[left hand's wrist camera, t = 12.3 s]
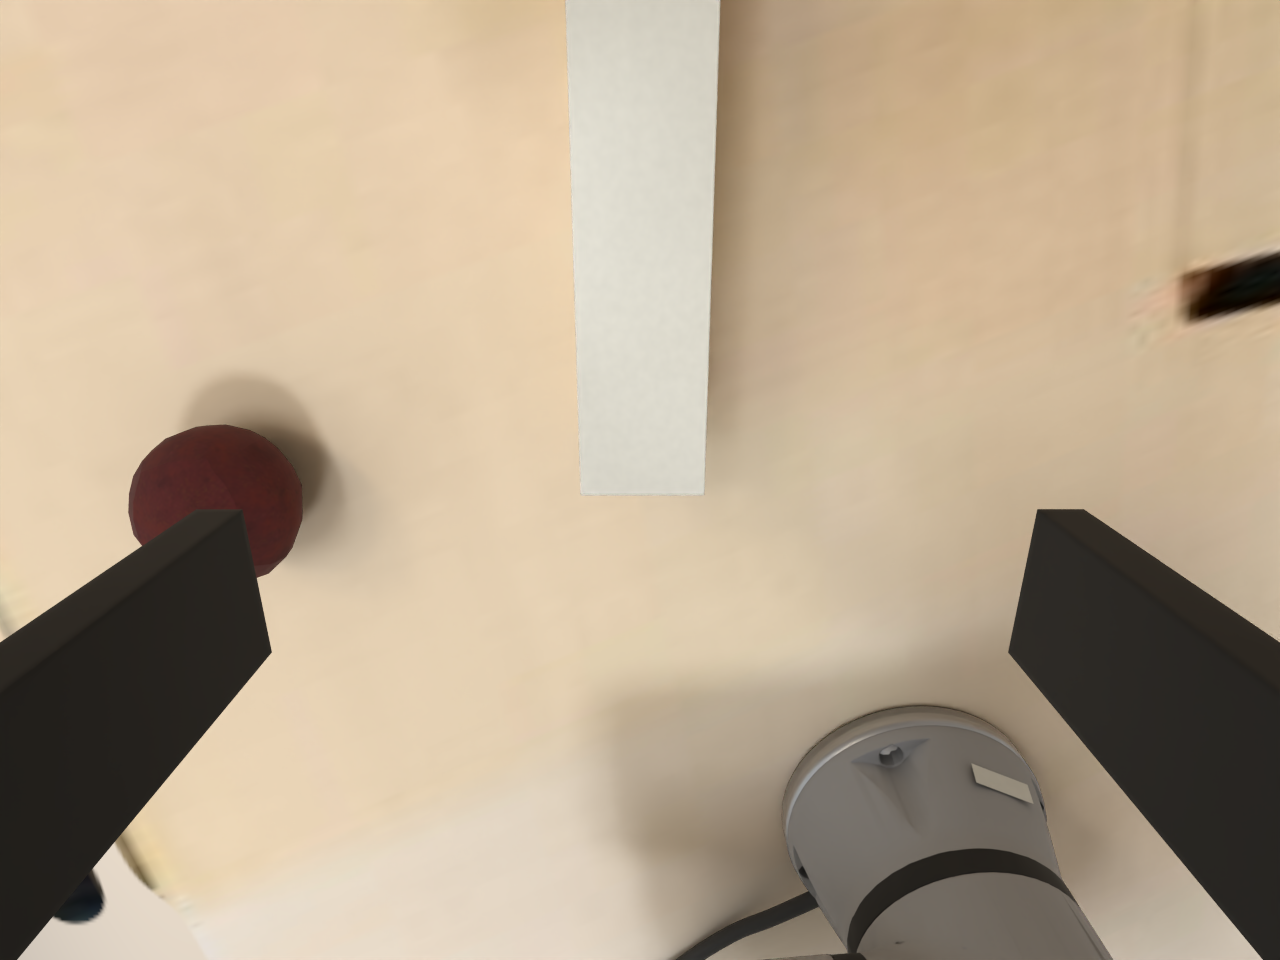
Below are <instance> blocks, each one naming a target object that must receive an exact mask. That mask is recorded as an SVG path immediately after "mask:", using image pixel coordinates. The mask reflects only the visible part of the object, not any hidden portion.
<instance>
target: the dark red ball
mask: <svg viewBox="0 0 1280 960" xmlns="http://www.w3.org/2000/svg"><path fill="white" fill-rule="evenodd" d="M196 509H243V514H244V519H245V524H246V529H247V534H248V539H249V543H250V548H251V553H252V558H253V563H254V568H255V573H256V578H257V577H260V576H263V575H266V574H269V573H270V572H271V571H272V570H273V569H274V568H275V567H276V566H277V565H278V564H279V563H280V562H281V561H282V560H283V559H284V558H285V557H286V556H287V555H288V553H289V552H290V550H291V549H292V547H293V544H294V542H295V539H296V536H297V533H298V530H299V527H300V524H301V522H302V514H303V510H302V485H301V483H300V480H299V478H298V476H297V474H296V472H295V470H294V468H293V466H292V465H291V463H290V462H289V461H288V460H287V459H286V458H285V456H284V455H283V454H282V453H281V452H280V450H279V449H278V448H277V447H276V446H274V445H273V444H272V443H271V442H269V441H268V440H267V439H266V438H264V437H262V436H260V435H258V434H256V433H255V432H253V431H251V430H247V429H243V428H238V427H234V426H230V425H210V426H200V427H195V428H192V429H189V430H187V431H184V432H181V433H179V434H176V435H174V436H171V437H169V438H166V439H165V440H164V441H162V442H161V443H160V444H159V445H158V446H156V447H155V448H154V449H153V450H152V451H151V452H150V453H149V454H148V455H147V456H146V457H145V459H144V460H143V461H142V462H141V464H140V466H139V467H138V469H137V471H136V472H135V474H134V476H133V480H132V484H131V488H130V492H129V511H128V513H129V517H130V521H131V526H132V530H133V534H134V536H135V537H136V538H137V540H138V541H139V542H140V544H141V545H142V546H143V545H144V544H146V543H147V542H149V541H150V540H152V539H153V538H155V537H156V536H158V535H159V534H161V533H162V532H164V531H165V530H167V529H168V528H170V527H171V526H172V525H174V524H175V523H177V522H178V521H180V520H181V519H183V518H184V517H186V516H187V515H189V514H190V513H192V512H193V511H195V510H196Z"/></svg>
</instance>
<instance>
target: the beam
mask: <svg viewBox="0 0 1280 960" xmlns="http://www.w3.org/2000/svg"><path fill="white" fill-rule="evenodd" d="M565 6H566V38H567V71H568V103H569V136H570V168H571V201H572V234H573V266H574V299H575V331H576V364H577V396H578V429H579V462H580V494H581V495H704V494H705V465H706V434H707V403H708V372H709V341H710V310H711V279H712V248H713V217H714V186H715V155H716V124H717V93H718V62H719V31H720V0H565Z"/></svg>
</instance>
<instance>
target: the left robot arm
mask: <svg viewBox="0 0 1280 960" xmlns="http://www.w3.org/2000/svg"><path fill="white" fill-rule="evenodd" d="M271 653H272V651H271V646H270V641H269V636H268V632H267V627H266V622H265V617H264V612H263V607H262V602H261V597H260V592H259V587H258V583H257V578H256V573H255V568H254V563H253V558H252V553H251V548H250V543H249V539H248V534H247V529H246V524H245V519H244V514H243V509H196V510H195V511H193V512H192V513H190V514H189V515H187V516H186V517H184V518H183V519H181V520H180V521H178V522H177V523H175V524H174V525H172V526H171V527H170V528H168V529H167V530H165V531H164V532H162V533H161V534H159V535H158V536H156V537H155V538H153V539H152V540H150V541H149V542H147V543H146V544H144V545H143V546H142V547H140V548H139V549H137V550H136V551H134V552H133V553H131V554H130V555H128V556H127V557H125V558H124V559H122V560H121V561H119V562H118V563H117V564H115V565H114V566H112V567H111V568H109V569H108V570H106V571H105V572H103V573H102V574H100V575H99V576H97V577H96V578H94V579H93V580H91V581H90V582H89V583H87V584H86V585H84V586H83V587H81V588H80V589H78V590H77V591H75V592H74V593H72V594H71V595H69V596H68V597H66V598H65V599H64V600H62V601H61V602H59V603H58V604H56V605H55V606H53V607H52V608H50V609H49V610H47V611H46V612H44V613H43V614H41V615H40V616H38V617H37V618H36V619H34V620H33V621H31V622H30V623H28V624H27V625H25V626H24V627H22V628H21V629H19V630H18V631H16V632H15V633H13V634H12V635H11V636H9V637H8V638H6V639H5V640H3V641H2V642H0V960H17V959H18V958H19V957H20V955H21V954H22V953H23V952H24V951H25V949H26V948H27V947H28V946H29V944H30V943H31V942H32V941H33V940H34V939H35V937H36V936H37V935H38V934H39V932H40V931H41V930H42V929H43V928H44V926H45V925H46V924H47V923H48V922H49V920H50V919H51V918H52V917H53V916H54V914H55V913H56V912H57V911H58V910H59V908H60V907H61V906H62V905H63V904H64V902H65V901H66V900H67V899H68V898H69V896H70V895H71V894H72V893H73V891H74V890H75V889H76V888H77V887H78V885H79V884H80V883H81V882H82V881H83V879H84V878H85V877H86V876H87V875H88V873H89V872H90V871H91V870H92V869H93V867H94V866H95V865H96V864H97V863H98V861H99V860H100V859H101V858H102V856H103V855H104V854H105V853H106V852H107V850H108V849H109V848H110V847H111V846H112V844H113V843H114V842H115V841H116V840H117V838H118V837H119V836H120V835H121V834H122V832H123V831H124V830H125V829H126V828H127V826H128V825H129V824H130V823H131V822H132V820H133V819H134V818H135V817H136V815H137V814H138V813H139V812H140V811H141V809H142V808H143V807H144V806H145V805H146V803H147V802H148V801H149V800H150V799H151V797H152V796H153V795H154V794H155V793H156V791H157V790H158V789H159V788H160V787H161V785H162V784H163V783H164V782H165V780H166V779H167V778H168V777H169V776H170V774H171V773H172V772H173V771H174V770H175V768H176V767H177V766H178V765H179V764H180V762H181V761H182V760H183V759H184V758H185V756H186V755H187V754H188V753H189V752H190V750H191V749H192V748H193V747H194V745H195V744H196V743H197V742H198V741H199V739H200V738H201V737H202V736H203V735H204V733H205V732H206V731H207V730H208V729H209V727H210V726H211V725H212V724H213V723H214V721H215V720H216V719H217V718H218V717H219V715H220V714H221V713H222V712H223V710H224V709H225V708H226V707H227V706H228V704H229V703H230V702H231V701H232V700H233V698H234V697H235V696H236V695H237V694H238V692H239V691H240V690H241V689H242V688H243V686H244V685H245V684H246V683H247V682H248V680H249V679H250V678H251V677H252V676H253V674H254V673H255V672H256V671H257V669H258V668H259V667H260V666H261V665H262V663H263V662H264V661H265V660H266V659H267V657H268V656H269V655H270V654H271ZM1008 653H1009V654H1010V655H1011V656H1012V657H1013V659H1014V660H1015V661H1016V662H1017V663H1018V665H1019V666H1020V667H1021V668H1022V669H1023V671H1024V672H1025V673H1026V674H1027V676H1028V677H1029V678H1030V679H1031V680H1032V682H1033V683H1034V684H1035V685H1036V686H1037V688H1038V689H1039V690H1040V691H1041V692H1042V694H1043V695H1044V696H1045V697H1046V698H1047V700H1048V701H1049V702H1050V703H1051V704H1052V706H1053V707H1054V708H1055V709H1056V710H1057V712H1058V713H1059V714H1060V715H1061V717H1062V718H1063V719H1064V720H1065V721H1066V723H1067V724H1068V725H1069V726H1070V727H1071V729H1072V730H1073V731H1074V732H1075V733H1076V735H1077V736H1078V737H1079V738H1080V739H1081V741H1082V742H1083V743H1084V744H1085V745H1086V747H1087V748H1088V749H1089V750H1090V752H1091V753H1092V754H1093V755H1094V756H1095V758H1096V759H1097V760H1098V761H1099V762H1100V764H1101V765H1102V766H1103V767H1104V768H1105V770H1106V771H1107V772H1108V773H1109V774H1110V776H1111V777H1112V778H1113V779H1114V780H1115V782H1116V783H1117V784H1118V785H1119V787H1120V788H1121V789H1122V790H1123V791H1124V793H1125V794H1126V795H1127V796H1128V797H1129V799H1130V800H1131V801H1132V802H1133V803H1134V805H1135V806H1136V807H1137V808H1138V809H1139V811H1140V812H1141V813H1142V814H1143V815H1144V817H1145V818H1146V819H1147V820H1148V822H1149V823H1150V824H1151V825H1152V826H1153V828H1154V829H1155V830H1156V831H1157V832H1158V834H1159V835H1160V836H1161V837H1162V838H1163V840H1164V841H1165V842H1166V843H1167V844H1168V846H1169V847H1170V848H1171V849H1172V850H1173V852H1174V853H1175V854H1176V855H1177V856H1178V858H1179V859H1180V860H1181V861H1182V863H1183V864H1184V865H1185V866H1186V867H1187V869H1188V870H1189V871H1190V872H1191V873H1192V875H1193V876H1194V877H1195V878H1196V879H1197V881H1198V882H1199V883H1200V884H1201V885H1202V887H1203V888H1204V889H1205V890H1206V891H1207V893H1208V894H1209V895H1210V896H1211V898H1212V899H1213V900H1214V901H1215V902H1216V904H1217V905H1218V906H1219V907H1220V908H1221V910H1222V911H1223V912H1224V913H1225V914H1226V916H1227V917H1228V918H1229V919H1230V920H1231V922H1232V923H1233V924H1234V925H1235V926H1236V928H1237V929H1238V930H1239V931H1240V933H1241V934H1242V935H1243V936H1244V937H1245V939H1246V940H1247V941H1248V942H1249V943H1250V945H1251V946H1252V947H1253V948H1254V949H1255V951H1256V952H1257V953H1258V954H1259V955H1260V957H1261V958H1262V959H1263V960H1280V642H1278V641H1277V640H1275V639H1274V638H1272V637H1271V636H1269V635H1268V634H1267V633H1265V632H1264V631H1262V630H1261V629H1259V628H1258V627H1256V626H1255V625H1253V624H1252V623H1250V622H1249V621H1247V620H1246V619H1244V618H1243V617H1242V616H1240V615H1239V614H1237V613H1236V612H1234V611H1233V610H1231V609H1230V608H1228V607H1227V606H1225V605H1224V604H1222V603H1221V602H1219V601H1218V600H1216V599H1215V598H1214V597H1212V596H1211V595H1209V594H1208V593H1206V592H1205V591H1203V590H1202V589H1200V588H1199V587H1197V586H1196V585H1194V584H1193V583H1191V582H1190V581H1189V580H1187V579H1186V578H1184V577H1183V576H1181V575H1180V574H1178V573H1177V572H1175V571H1174V570H1172V569H1171V568H1169V567H1168V566H1166V565H1165V564H1163V563H1162V562H1161V561H1159V560H1158V559H1156V558H1155V557H1153V556H1152V555H1150V554H1149V553H1147V552H1146V551H1144V550H1143V549H1141V548H1140V547H1138V546H1137V545H1136V544H1134V543H1133V542H1131V541H1130V540H1128V539H1127V538H1125V537H1124V536H1122V535H1121V534H1119V533H1118V532H1116V531H1115V530H1113V529H1112V528H1110V527H1109V526H1108V525H1106V524H1105V523H1103V522H1102V521H1100V520H1099V519H1097V518H1096V517H1094V516H1093V515H1091V514H1090V513H1088V512H1087V511H1085V510H1084V509H1037V514H1036V519H1035V524H1034V529H1033V534H1032V539H1031V543H1030V548H1029V553H1028V558H1027V563H1026V568H1025V573H1024V578H1023V583H1022V587H1021V592H1020V597H1019V602H1018V607H1017V612H1016V617H1015V622H1014V627H1013V632H1012V636H1011V641H1010V646H1009V651H1008ZM782 825H783V830H784V835H785V839H786V843H787V848H788V852H789V856H790V859H791V862H792V864H793V866H794V868H795V870H796V872H797V874H798V875H799V877H800V879H801V881H802V882H803V884H804V885H805V887H806V888H807V890H808V892H806V893H804V894H801V895H799V896H797V897H795V898H793V899H790V900H788V901H786V902H784V903H782V904H779V905H777V906H775V907H772V908H770V909H768V910H765V911H763V912H760V913H758V914H755V915H752V916H750V917H747V918H744V919H742V920H740V921H737V922H735V923H733V924H731V925H729V926H727V927H725V928H724V929H722V930H720V931H718V932H717V933H715V934H713V935H712V936H710V937H708V938H707V939H705V940H704V941H702V942H700V943H699V944H697V945H696V946H694V947H693V948H691V949H690V950H689V951H687V952H686V953H684V954H683V955H682V956H680V957H679V958H677V959H676V960H705V959H707V958H708V957H710V956H711V955H713V954H714V953H716V952H718V951H719V950H721V949H723V948H725V947H726V946H728V945H730V944H732V943H734V942H735V941H738V940H740V939H742V938H744V937H746V936H749V935H752V934H754V933H757V932H760V931H763V930H765V929H768V928H771V927H773V926H776V925H778V924H780V923H783V922H785V921H787V920H790V919H792V918H794V917H797V916H799V915H801V914H804V913H806V912H808V911H810V910H813V909H815V908H817V907H820V909H821V910H822V912H823V914H824V915H825V917H826V918H827V920H828V922H829V923H830V925H831V926H832V928H833V929H834V931H835V932H836V934H837V935H838V937H839V938H840V940H841V941H842V943H843V944H844V946H845V947H846V949H847V952H848V954H835V955H829V954H824V955H812V956H800V957H789V958H777V959H765V960H1113V959H1112V957H1111V956H1110V954H1109V952H1108V951H1107V949H1106V948H1105V946H1104V945H1103V943H1102V941H1101V940H1100V938H1099V937H1098V935H1097V934H1096V932H1095V930H1094V929H1093V927H1092V926H1091V924H1090V923H1089V921H1088V920H1087V918H1086V916H1085V915H1084V913H1083V912H1082V910H1081V909H1080V907H1079V905H1078V904H1077V902H1076V901H1075V899H1074V897H1073V896H1072V894H1071V893H1070V891H1069V890H1068V888H1067V887H1066V885H1065V883H1064V882H1063V880H1062V878H1061V874H1060V870H1059V867H1058V863H1057V859H1056V856H1055V852H1054V848H1053V844H1052V841H1051V837H1050V834H1049V830H1048V827H1047V820H1046V811H1045V806H1044V801H1043V797H1042V794H1041V791H1040V788H1039V784H1038V782H1037V780H1036V778H1035V776H1034V774H1033V772H1032V771H1031V769H1030V768H1029V766H1028V765H1027V763H1026V762H1025V760H1024V759H1023V757H1022V756H1021V755H1020V753H1019V752H1018V750H1017V749H1016V747H1015V746H1014V745H1013V744H1012V743H1011V741H1010V740H1009V739H1008V738H1007V737H1006V736H1005V735H1004V734H1003V733H1001V732H1000V731H999V730H998V729H996V728H995V727H993V726H992V725H990V724H989V723H987V722H985V721H983V720H981V719H979V718H977V717H975V716H973V715H970V714H967V713H964V712H961V711H956V710H952V709H947V708H941V707H929V706H911V707H901V708H895V709H889V710H884V711H880V712H877V713H873V714H870V715H867V716H864V717H862V718H859V719H857V720H855V721H852V722H850V723H848V724H846V725H844V726H843V727H841V728H839V729H837V730H836V731H834V732H833V733H831V734H830V735H828V736H827V737H826V738H824V739H823V740H822V741H820V742H819V743H818V744H817V745H816V746H815V747H814V748H813V749H812V750H811V751H810V752H809V753H808V754H807V755H806V756H805V757H804V758H803V760H802V761H801V762H800V764H799V765H798V766H797V768H796V770H795V771H794V773H793V775H792V776H791V778H790V781H789V783H788V785H787V788H786V791H785V794H784V799H783V804H782Z"/></svg>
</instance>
